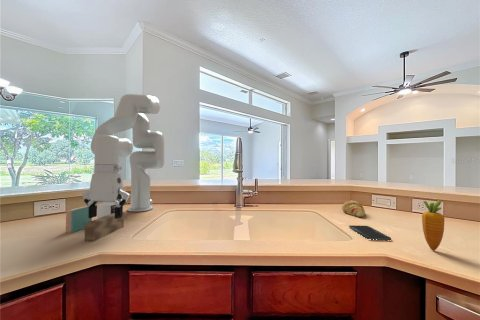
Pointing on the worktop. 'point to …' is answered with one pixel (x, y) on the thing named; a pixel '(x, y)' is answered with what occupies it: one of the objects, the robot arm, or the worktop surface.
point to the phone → (369, 232)
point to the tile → (77, 219)
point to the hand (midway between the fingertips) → (105, 217)
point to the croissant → (353, 208)
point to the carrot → (433, 225)
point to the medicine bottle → (105, 209)
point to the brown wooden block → (102, 227)
